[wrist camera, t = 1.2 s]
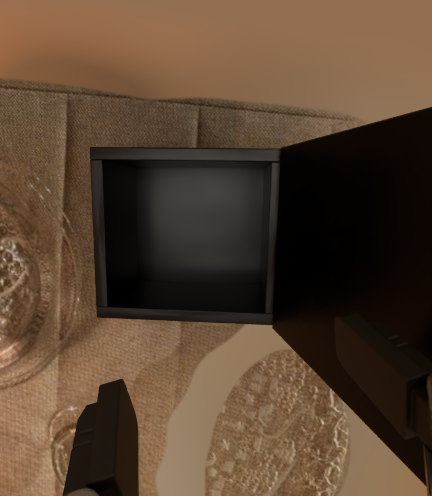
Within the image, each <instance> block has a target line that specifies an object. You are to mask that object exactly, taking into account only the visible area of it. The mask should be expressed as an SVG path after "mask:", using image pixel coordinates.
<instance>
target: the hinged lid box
mask: <svg viewBox="0 0 432 496" xmlns="http://www.w3.org/2000/svg"><path fill="white" fill-rule="evenodd" d="M280 156H281V149H252V148H146V147H90V158H91V160H90V165H91V189H92V212H93V236H94V260H95V284H96V306H97V317H99V318H121V319H144V320H167V321H190V322H213V323H236V324H259V325H273V306H274V284H275V263H276V241H277V220H278V199H279V177H280Z"/></svg>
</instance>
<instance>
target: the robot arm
mask: <svg viewBox="0 0 432 496" xmlns="http://www.w3.org/2000/svg"><path fill="white" fill-rule="evenodd" d="M334 325H335V340H336V352H337V356H338V359H339V361H340V363H341V365H342V366H343V368H344V369H345V370H346V371H347V373H348V374H349V375H350V376H351V377H352V378H353V380H354V381H355V382H356V383H357V384H358V385H359V387H360V388H361V389H362V390H363V391H364V392H365V394H366V395H367V396H368V397H369V398H370V400H371V401H372V402H373V403H374V404H375V405H376V407H377V408H378V409H379V410H380V411H381V412H382V414H383V415H384V416H385V417H386V418H387V419H388V421H389V422H390V423H391V424H392V425H393V426H394V428H395V429H396V430H397V431H398V432H399V434H400V435H401V436H402V437H403V438H404V439H405V440H406V439H409V438H412V437H415V436H419V437H420V439H421V440H422V441H423V454H424V464H425V475H426V485H427V495H428V496H432V362H431V361H430V360H429V359H428V358H426V357H425V356H424V355H423V354H421V353H420V352H419V351H418V350H416V349H415V348H414V347H413V346H411V345H410V344H408V342H406V341H405V340H404V339H403V338H401V337H399V335H398V334H396V333H395V332H394V331H393V330H392V329H390V328H389V327H388V326H385V325H383V324H380V323H378V322H376V321H371V322H368V321H367V320H366V319H365V318H364V317H362V316H361V315H360V314H359V313H357V312H351V313H348V314H344V315H341V316H337V317H335V320H334ZM63 496H139V483H138V424H137V418H136V414H135V411H134V408H133V405H132V402H131V399H130V396H129V394H128V391H127V388H126V385H125V382H124V380H123V379H119V380H116V381H112V382H109V383H106V384H102V385H100V387H99V393H98V400H97V403H93V404H90V405H87V406H86V407H85V409H84V411H83V412H82V414H81V415H80V417H79V419H78V421H77V426H76V431H75V437H74V441H73V449H72V451H71V456H70V461H69V466H68V471H67V476H66V481H65V487H64V492H63Z"/></svg>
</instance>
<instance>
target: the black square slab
mask: <svg viewBox="0 0 432 496" xmlns="http://www.w3.org/2000/svg"><path fill="white" fill-rule="evenodd" d="M351 312H357V313H359V314H360V315H361V316H362V317H364V318H365V319H366V320H367V321H368V322H371V321H376V322H378V323H380V324H383V325H385V326H388V327H389V328H390V329H392V330H393V331H394V332H395V333H396V334H398V335H399V337H401V338H403V339H404V340H405V341H406V342H408V344H410V345H411V346H413V347H414V348H415V349H416V350H418V351H419V352H420V353H421V354H423V355H424V356H425V357H426V358H428V359H429V360H430V361H431V362H432V107H430V108H426V109H422V110H419V111H415V112H411V113H408V114H404V115H400V116H396V117H393V118H389V119H385V120H382V121H378V122H374V123H371V124H367V125H363V126H360V127H356V128H352V129H349V130H345V131H341V132H338V133H334V134H330V135H327V136H323V137H319V138H316V139H312V140H308V141H304V142H301V143H297V144H293V145H290V146H286V147H282V148H281V156H280V177H279V199H278V220H277V241H276V263H275V284H274V306H273V329H274V330H275V331H276V332H277V333H278V334H279V335H280V336H281V337H282V338H283V339H284V340H285V342H286V343H287V344H288V345H289V346H290V347H291V348H292V349H293V350H294V351H295V352H296V353H297V354H298V355H299V356H300V357H301V358H302V359H303V360H304V361H305V362H306V363H307V364H308V365H309V366H310V367H311V368H312V369H313V370H314V371H315V372H316V373H317V374H318V375H319V376H320V378H321V379H322V380H323V381H324V382H325V383H326V384H327V385H328V386H329V387H330V388H331V389H332V390H333V391H334V392H335V393H336V394H337V395H338V396H339V397H340V398H341V399H342V400H343V401H344V402H345V403H346V404H347V405H348V406H349V407H350V408H351V409H352V410H353V411H354V413H355V414H356V415H357V416H359V418H360V419H361V420H362V421H363V422H364V423H365V424H366V425H367V426H368V427H369V428H370V429H371V430H372V431H373V432H374V433H375V434H376V435H377V436H378V437H379V438H380V439H381V440H382V441H383V442H384V443H385V444H386V445H387V446H388V447H389V448H390V449H391V451H392V452H393V453H394V454H395V455H396V456H397V457H398V458H399V459H400V460H401V461H402V462H403V463H404V464H405V465H406V466H407V467H408V468H409V469H410V470H411V471H412V472H413V473H414V474H415V475H416V476H417V477H418V478H419V479H420V480H421V481H422V482H423V483H424V485H425V486H426V487H427V485H426V475H425V464H424V454H423V441H422V440H421V439H420V437H419V436H415V437H412V438H409V439H406V440H405V439H404V438H403V437H402V436H401V435H400V434H399V432H398V431H397V430H396V429H395V428H394V426H393V425H392V424H391V423H390V422H389V421H388V419H387V418H386V417H385V416H384V415H383V414H382V412H381V411H380V410H379V409H378V408H377V407H376V405H375V404H374V403H373V402H372V401H371V400H370V398H369V397H368V396H367V395H366V394H365V392H364V391H363V390H362V389H361V388H360V387H359V385H358V384H357V383H356V382H355V381H354V380H353V378H352V377H351V376H350V375H349V374H348V373H347V371H346V370H345V369H344V368H343V366H342V365H341V363H340V361H339V359H338V356H337V352H336V340H335V325H334V320H335V317H337V316H341V315H344V314H348V313H351Z"/></svg>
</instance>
